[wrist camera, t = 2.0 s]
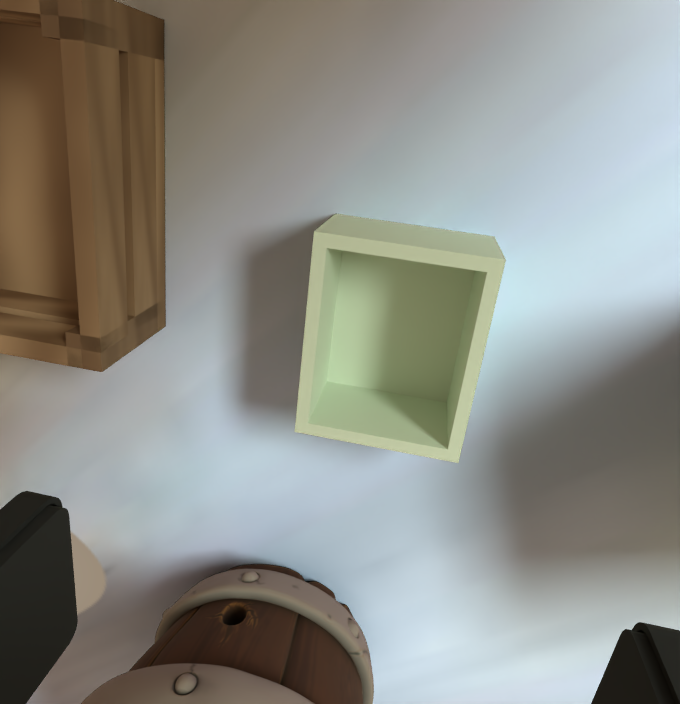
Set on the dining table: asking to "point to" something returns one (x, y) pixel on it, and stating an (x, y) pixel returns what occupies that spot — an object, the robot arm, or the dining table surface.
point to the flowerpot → (250, 646)
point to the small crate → (395, 334)
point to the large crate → (81, 180)
